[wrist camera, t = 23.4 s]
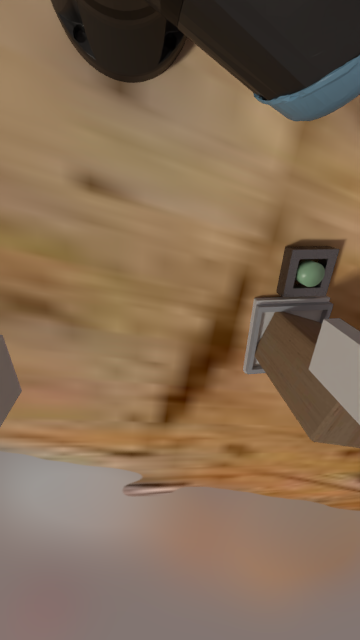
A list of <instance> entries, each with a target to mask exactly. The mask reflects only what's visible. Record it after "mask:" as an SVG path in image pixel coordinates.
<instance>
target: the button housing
mask: <svg viewBox="0 0 360 640" xmlns="http://www.w3.org/2000/svg"><path fill="white" fill-rule="evenodd" d="M338 252H339V249H337V248H334V247H331V246H307V247H285V251H284V256H283V261H282V266H281V271H280V276H279V281H278V286H277V293H278V294H279V295H281V296H282V297H301V296H326V293H327V290H328V286H329V283H330V280H331V276H332V273H333V269H334V266H335V263H336V259H337V256H338ZM300 259H318V262H317V263H319V264H321V265H322V266H323V267H324V269H325V275H324V277H323V279H322V281H321V282H320V283H319V284H317V285H316V286H313V287H307V286H305V285H303V284H294V282H295V277H296V273H297V268H298V264H299V260H300Z"/></svg>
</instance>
